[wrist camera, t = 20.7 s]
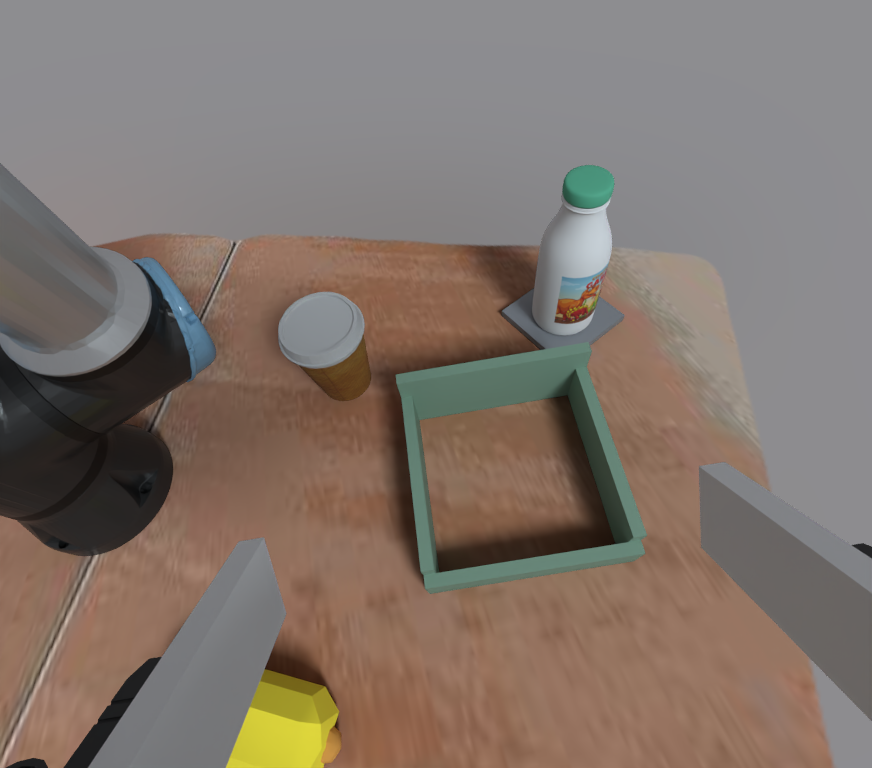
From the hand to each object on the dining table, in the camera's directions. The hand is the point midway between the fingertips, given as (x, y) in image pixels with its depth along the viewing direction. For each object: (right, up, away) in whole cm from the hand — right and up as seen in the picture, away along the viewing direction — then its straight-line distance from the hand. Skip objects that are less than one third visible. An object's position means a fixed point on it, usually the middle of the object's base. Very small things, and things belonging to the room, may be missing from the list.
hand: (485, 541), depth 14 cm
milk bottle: (+15, +14, +47) cm, 51 cm away
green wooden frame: (+7, -6, +37) cm, 38 cm away
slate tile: (+15, +13, +48) cm, 52 cm away
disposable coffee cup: (-13, +5, +46) cm, 48 cm away
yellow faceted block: (-18, -26, +29) cm, 43 cm away
